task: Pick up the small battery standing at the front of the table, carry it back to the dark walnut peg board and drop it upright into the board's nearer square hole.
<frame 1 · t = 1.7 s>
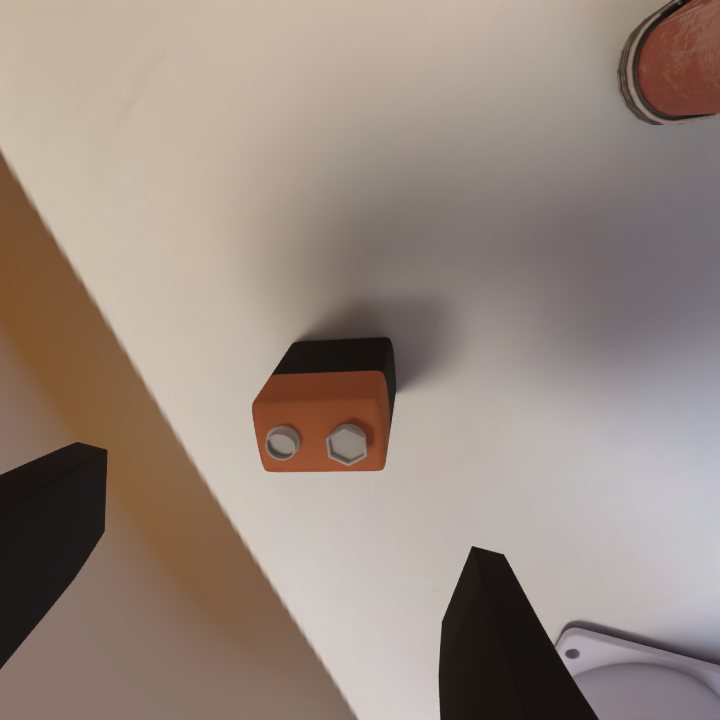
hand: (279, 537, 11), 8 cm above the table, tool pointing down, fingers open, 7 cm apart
battery: (345, 365, 18), on the table
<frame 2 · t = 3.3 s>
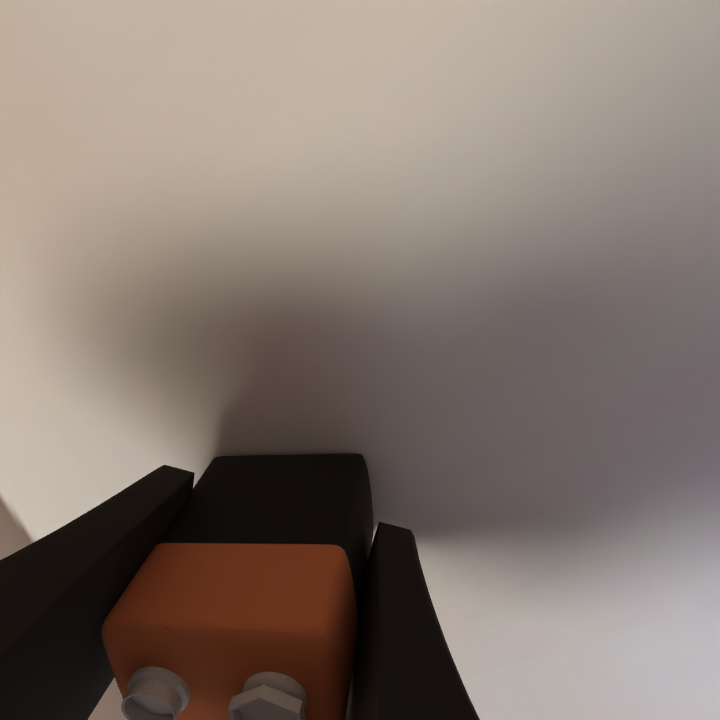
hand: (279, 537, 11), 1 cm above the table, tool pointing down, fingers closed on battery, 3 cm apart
battery: (297, 487, 12), on the table, touching gripper
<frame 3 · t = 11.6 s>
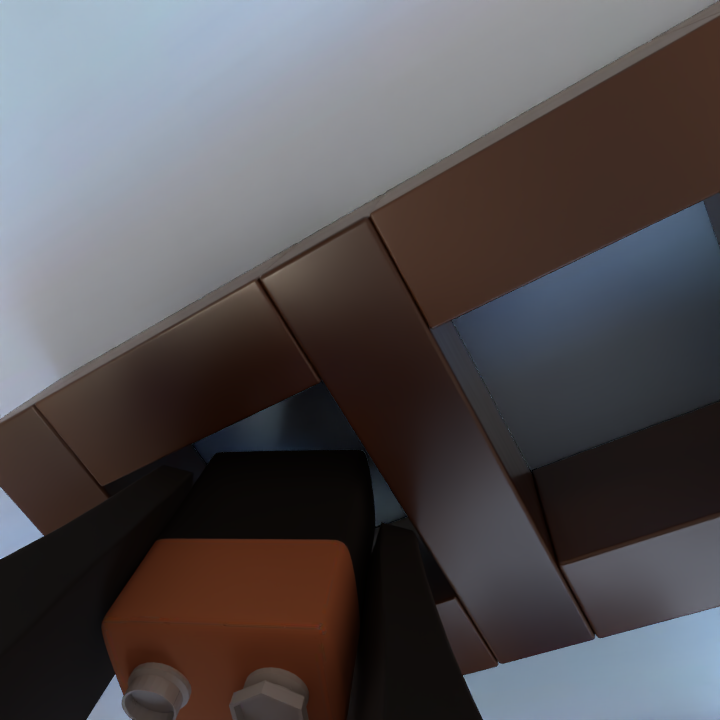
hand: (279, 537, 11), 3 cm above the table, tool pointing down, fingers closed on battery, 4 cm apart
peg board: (442, 399, 12), on the table
battery: (298, 484, 12), point 1 cm above the table, touching gripper
when the fingers open (3 cm above the table, at t = 12.4 s): battery drops 2 cm, resting in peg board.
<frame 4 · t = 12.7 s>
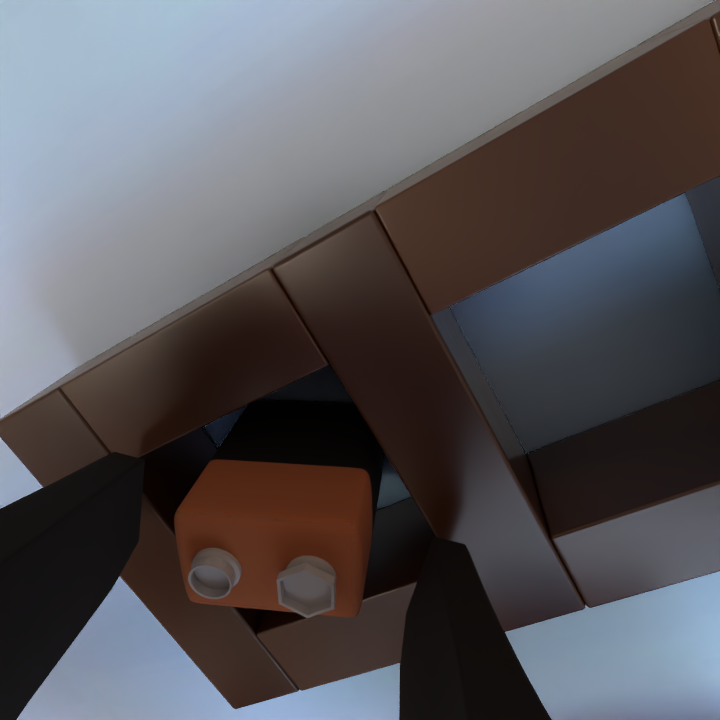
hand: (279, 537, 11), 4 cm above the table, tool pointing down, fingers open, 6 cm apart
peg board: (441, 385, 13), on the table
battery: (318, 433, 14), resting in peg board
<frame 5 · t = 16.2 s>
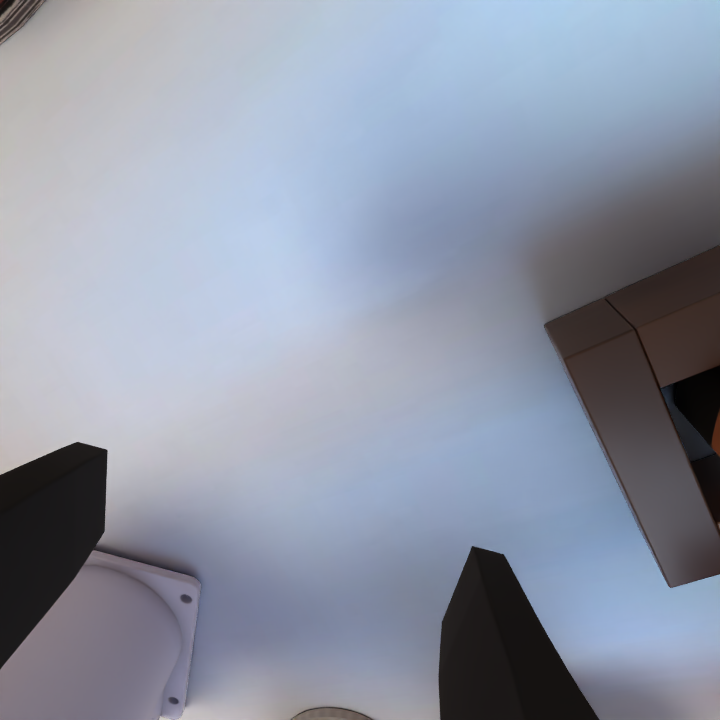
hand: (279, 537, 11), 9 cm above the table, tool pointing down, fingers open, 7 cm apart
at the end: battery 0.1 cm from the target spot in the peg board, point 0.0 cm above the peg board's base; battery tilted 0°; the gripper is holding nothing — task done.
